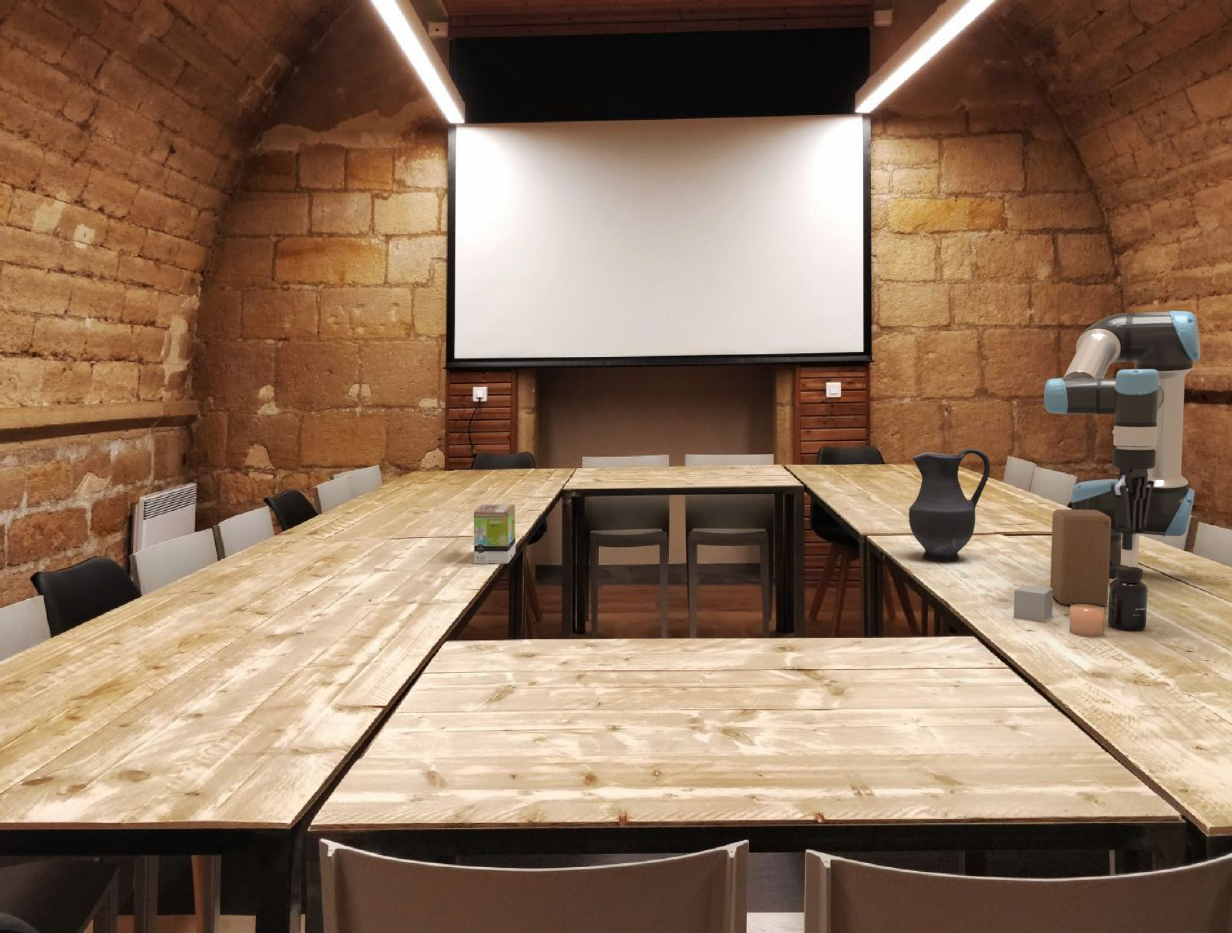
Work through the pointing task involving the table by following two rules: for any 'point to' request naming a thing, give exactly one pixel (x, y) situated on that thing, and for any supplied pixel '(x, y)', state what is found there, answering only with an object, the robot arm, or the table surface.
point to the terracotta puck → (1086, 620)
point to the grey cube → (1033, 603)
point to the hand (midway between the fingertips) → (1129, 565)
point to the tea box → (494, 534)
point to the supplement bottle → (1128, 600)
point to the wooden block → (1080, 557)
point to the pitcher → (944, 505)
